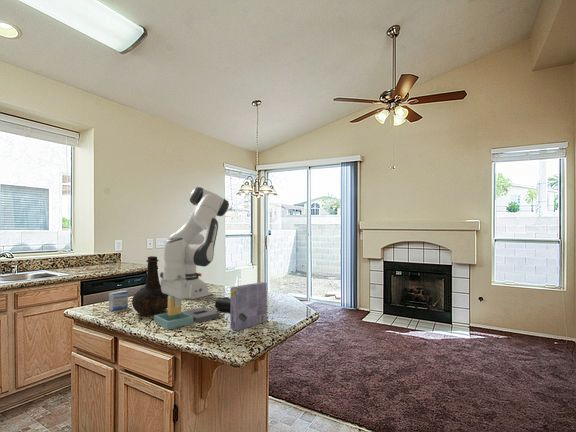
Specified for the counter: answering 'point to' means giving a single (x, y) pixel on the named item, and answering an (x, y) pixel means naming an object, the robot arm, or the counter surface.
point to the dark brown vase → (150, 292)
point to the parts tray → (173, 320)
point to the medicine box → (118, 300)
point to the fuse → (171, 308)
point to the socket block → (202, 314)
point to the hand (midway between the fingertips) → (174, 306)
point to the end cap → (223, 304)
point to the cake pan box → (248, 305)
